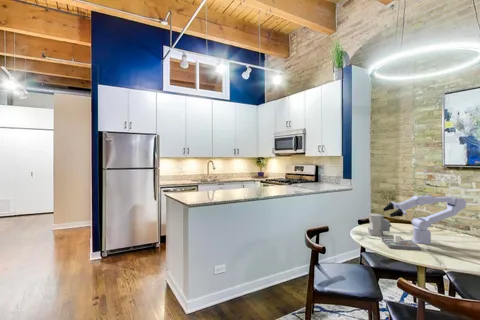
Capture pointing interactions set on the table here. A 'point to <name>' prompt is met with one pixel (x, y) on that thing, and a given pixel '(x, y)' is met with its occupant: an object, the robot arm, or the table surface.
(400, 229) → the table surface
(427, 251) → the table surface
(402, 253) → the table surface
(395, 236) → the handle
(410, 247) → the panel
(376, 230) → the circuit breaker
